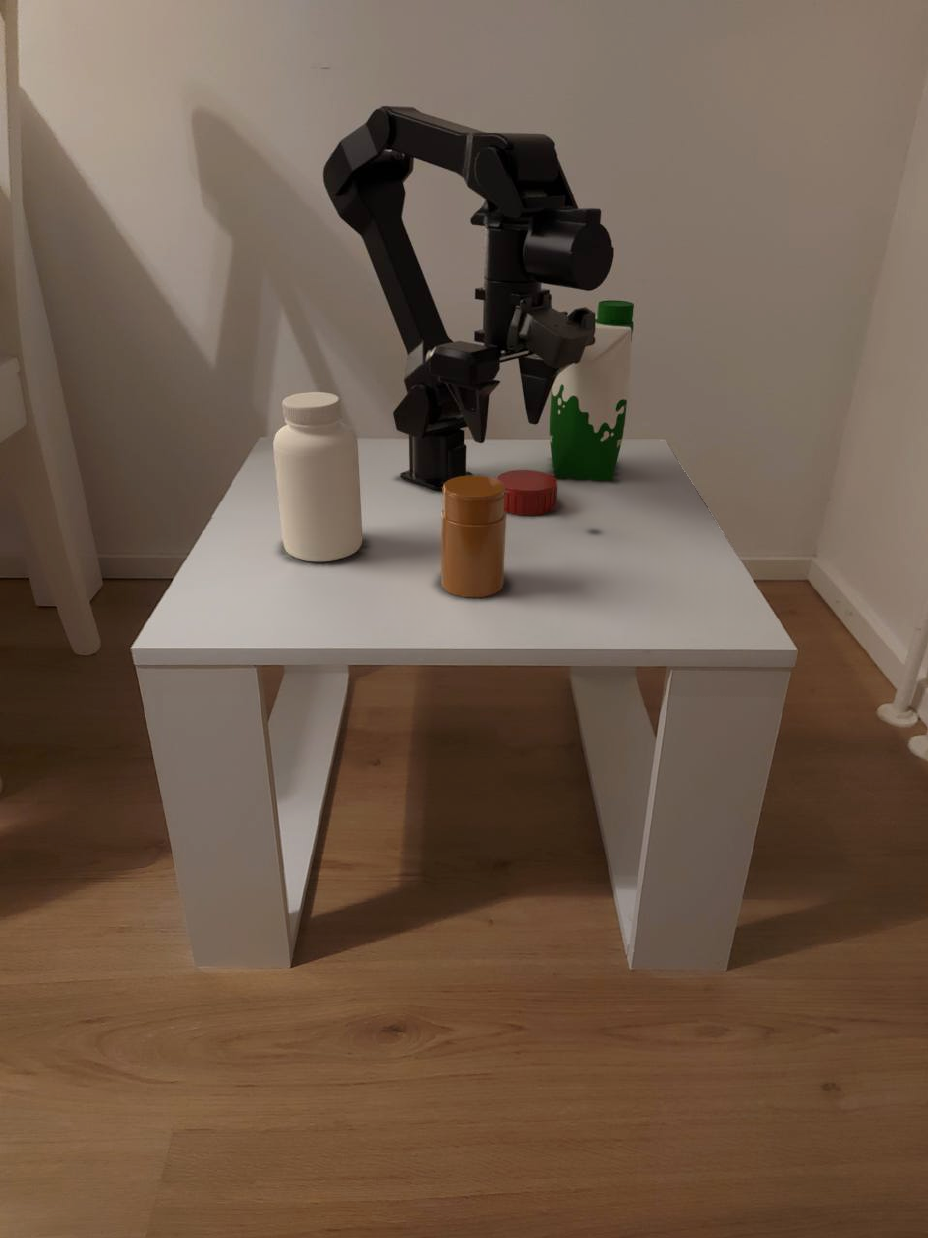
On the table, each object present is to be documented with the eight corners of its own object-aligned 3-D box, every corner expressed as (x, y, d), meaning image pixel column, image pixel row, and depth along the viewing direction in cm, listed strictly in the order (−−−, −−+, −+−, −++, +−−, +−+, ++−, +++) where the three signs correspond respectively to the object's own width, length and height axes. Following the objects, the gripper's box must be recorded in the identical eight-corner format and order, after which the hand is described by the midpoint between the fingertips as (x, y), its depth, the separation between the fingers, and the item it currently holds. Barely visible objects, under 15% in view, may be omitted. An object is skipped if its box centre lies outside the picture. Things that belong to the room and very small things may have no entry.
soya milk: (619, 484, 104) (638, 310, 95) (544, 479, 105) (555, 307, 96) (618, 461, 112) (636, 297, 102) (548, 456, 113) (559, 294, 103)
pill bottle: (267, 556, 85) (251, 404, 78) (307, 526, 92) (296, 384, 85) (340, 569, 83) (330, 414, 76) (376, 537, 90) (370, 392, 82)
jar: (428, 583, 81) (427, 485, 76) (469, 564, 84) (471, 469, 80) (474, 604, 77) (477, 502, 73) (516, 583, 81) (520, 485, 76)
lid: (482, 502, 99) (483, 478, 97) (524, 488, 103) (525, 465, 101) (526, 520, 94) (527, 495, 93) (568, 505, 98) (570, 480, 97)
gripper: (518, 298, 75) (511, 471, 83) (633, 277, 87) (618, 429, 95) (425, 284, 81) (426, 446, 89) (544, 266, 94) (536, 410, 101)
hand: (507, 432), depth 93 cm, fingers open, 9 cm apart
